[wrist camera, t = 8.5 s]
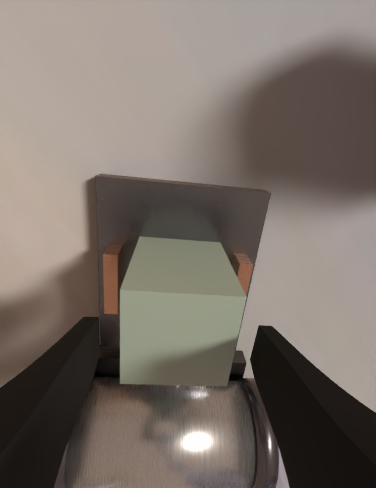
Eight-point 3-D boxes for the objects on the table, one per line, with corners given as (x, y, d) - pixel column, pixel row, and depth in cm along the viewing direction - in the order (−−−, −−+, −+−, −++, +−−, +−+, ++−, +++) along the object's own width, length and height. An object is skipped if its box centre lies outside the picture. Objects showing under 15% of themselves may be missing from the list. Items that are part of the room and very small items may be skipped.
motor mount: (236, 403, 23) (263, 516, 16) (87, 400, 21) (46, 521, 15) (289, 192, 16) (380, 230, 9) (72, 171, 14) (-20, 195, 8)
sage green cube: (206, 327, 18) (222, 409, 12) (136, 324, 18) (119, 407, 12) (220, 242, 16) (246, 297, 10) (139, 236, 15) (119, 290, 10)
